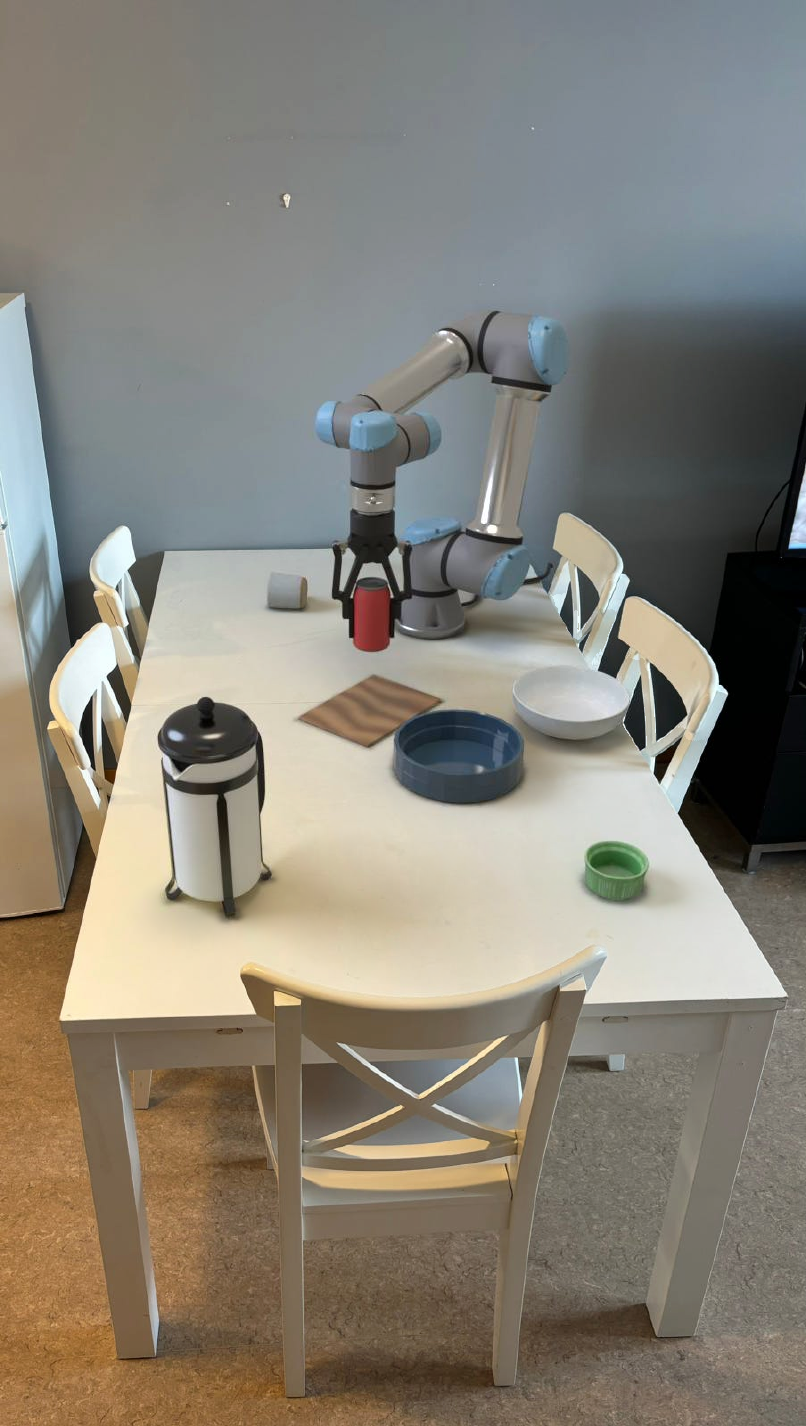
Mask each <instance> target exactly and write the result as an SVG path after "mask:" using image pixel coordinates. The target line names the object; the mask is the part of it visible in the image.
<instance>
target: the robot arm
mask: <svg viewBox="0 0 806 1426" xmlns="http://www.w3.org/2000/svg"><path fill="white" fill-rule="evenodd" d="M566 330H567V329H565V326H564V325H563V324H562V323H561V322H560V321H559V320H557V319H555V318H552V317H546V316H542V315H537V314H535V315H534V314H526V313H518V312H517V313H516V312H509V311H500V310H495V309H494V310H493V309H490V310H480V311H477V312H476V311H475V312H472V313H470V314H467V315H465V316H462V317H460V318H457V319H455V320H453V321H452V322H450V323H448V324H446V325H445V326H443V327H441V328H440V329H438V330H436V331H435V332H434V333H433V334H431V336H430V337H429V339H428V341H427V345H425V346H423V347H422V348H421V349H419V350H418V351H417V352H415V353H414V354H412V355H411V356H409V358H406V359H405V360H404V361H402V362H401V363H400V364H398V365H397V366H396V367H394V368H393V369H391V370H390V371H388V372H387V373H386V374H384V375H383V376H381V377H380V378H378V379H377V380H376V381H374V382H373V383H372V384H370V385H369V386H367V387H366V388H364V389H363V390H361V391H360V392H358V394H356V395H355V396H353V397H352V398H351V399H349V400H348V401H346V402H342V401H341V400H340V401H339V400H337V401H333V400H331V401H326V402H324V403H323V404H322V405H321V406H320V407H319V408H318V411H317V413H316V416H315V420H314V421H315V422H314V423H315V424H314V428H315V431H316V435H317V437H318V439H319V440H320V441H321V442H322V443H324V444H325V445H330V446H334V447H336V448H337V449H346V450H349V455H350V456H349V459H350V460H349V461H350V463H349V464H350V478H349V479H350V480H349V506H350V508H351V509H350V510H349V534H348V537H347V539H345V540H341V541H338V540H333V542H332V545H331V546H332V553H333V556H334V562H333V572H332V573H333V574H332V584H331V599H332V600H334V601H340V602H341V617H342V619H343V620H348V639H353V597H352V595H353V592H354V589H355V586H356V582H357V581H358V578H359V575H360V572H361V570H362V569H363V565H364V564H365V565H366V564H367V565H368V564H378V565H379V564H380V565H381V566H382V569H383V571H384V573H385V576H386V581H387V582H388V586H389V589H390V592H391V595H392V596H393V597H391V602H390V639H395V637H396V636H395V630H397V631H398V632H400V633H401V634H403V635H406V636H409V637H412V638H416V639H425V640H439V639H440V640H441V639H446V638H450V637H453V636H456V635H459V634H461V632H462V631H464V629H465V626H466V615H465V613H464V609H463V608H464V607H469V606H472V605H474V604H475V603H476V602H477V601H478V600H479V597H482V598H484V599H490V600H496V601H507V600H508V599H511V598H512V597H513V596H514V595H516V594H517V592H518V591H519V590H520V589H521V588H522V586H523V584H528V583H534V582H539V581H541V580H543V579H546V578H547V577H548V576H549V575H550V573H551V569H552V568H554V566H553V565H554V564H553V563H552V562H548V563H547V567H546V570H545V573H543V574H541V575H539V576H535V577H531V578H527V576H528V573H529V570H530V566H531V553H530V550H529V549H528V548H527V547H526V546H525V545H523V541H524V535H525V534H523V532H522V530H521V529H520V528H519V521H520V517H521V511H522V507H523V506H522V505H523V501H524V494H525V489H526V484H527V479H528V473H529V468H530V462H531V457H532V452H533V446H534V441H535V436H536V435H535V434H536V430H537V425H538V420H539V415H540V409H541V403H542V402H543V401H544V400H545V399H546V398H548V397H549V396H551V394H552V389H553V386H556V385H559V384H560V383H561V382H562V381H563V380H564V378H565V375H566V374H567V372H568V369H569V364H570V354H571V353H570V352H571V351H570V349H571V348H570V341H569V336H568V334H567V331H566ZM474 373H476V374H477V373H480V374H487V375H490V376H491V381H490V386H491V388H492V389H493V391H494V392H495V395H496V398H495V403H494V410H493V415H492V422H491V425H490V426H491V427H490V431H489V437H488V438H489V439H488V444H487V450H486V455H485V460H484V466H483V472H482V477H481V483H480V490H479V496H478V501H477V507H476V512H475V517H474V519H473V520H471V521H470V522H469V523H467V524H466V526H465V531H463V530H462V529H463V525H462V522H461V521H460V520H459V519H458V518H455V517H449V516H436V517H427V518H421V519H418V520H416V521H413V522H411V523H409V524H408V525H407V526H406V528H405V530H404V538H403V541H402V540H398V538H397V536H396V533H395V531H396V511H395V510H394V508H395V507H396V479H397V478H396V476H397V474H396V473H397V468H399V467H401V466H404V465H408V464H410V463H413V462H416V461H420V460H424V459H426V458H427V457H428V456H430V455H432V454H434V453H435V452H436V451H438V449H439V447H440V445H441V443H442V437H443V436H442V429H441V425H440V423H439V422H438V420H437V419H436V417H435V416H434V415H432V414H431V413H428V412H425V411H419V412H416V411H415V412H414V411H413V412H411V413H409V414H405V413H407V412H408V411H410V410H411V409H412V408H414V407H415V406H416V405H418V404H419V403H420V402H421V401H423V400H424V399H426V397H428V396H430V395H431V394H433V392H435V391H436V390H437V389H439V388H440V387H441V386H443V385H444V384H445V383H447V382H448V381H449V380H451V381H452V380H458V379H461V378H463V377H464V376H465V375H467V374H474ZM348 548H349V549H350V551H351V552H352V553H353V555H354V556H355V557H354V560H353V563H352V566H351V569H350V571H349V573H348V577H347V579H346V583H345V584H344V586H343V587H344V588H343V590H340V585H341V579H342V578H341V577H342V565H343V556H344V555H346V552H347V549H348ZM396 548H397V549H398V553H399V555H400V556H401V565H402V574H403V576H402V577H403V581H402V582H403V583H402V584H403V585H402V590H400V588H399V587H400V586H399V584H398V581H397V578H396V576H395V573H394V572H395V571H394V570H393V567H392V564H391V561H390V558H389V557H390V556H391V555H392V553H393V552H394V550H396ZM459 591H463V592H466V593H469V594H472V595H474V597H473V598H472V599H471V600H469V601H465V602H461V599H460V595H459Z"/></svg>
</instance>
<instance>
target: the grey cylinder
mask: <svg viewBox="0 0 806 1426" xmlns="http://www.w3.org/2000/svg"><path fill="white" fill-rule="evenodd" d="M266 590H267V591H266V602H267V603H266V604H267V606H268V608H275V609H276V608H277V609H292V610H293V609H295V610H297V609H303V608H304V607H305V606H306V603H307V600H308V599H307V598H308V580H307V578H306V577H304V576H301V575H296V574H287V573H280V572H271V573H270V574H269V576H268V580H267V588H266Z"/></svg>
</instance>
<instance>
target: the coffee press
mask: <svg viewBox="0 0 806 1426" xmlns="http://www.w3.org/2000/svg"><path fill="white" fill-rule="evenodd" d="M156 740H157V746H158V748H159V750H160V751H161V756H162V757H161V759H160V764H161V775H162V787H163V796H164V807H165V817H166V826H167V837H168V845H169V855H170V856H169V857H170V866H171V867H170V868H171V878H170V881H169V882H168V884H167V885H166V887H165V889H164V892H165V896H166V898H167V900H171V901H173V900H176V899H177V898H178V897H179V896H180V894H181V893H184V894H185V895H187V896H189V897H191V898H192V899H195V900H199V901H203V902H204V901H205V902H221V903H222V907H223V913H224V916H225V918H226V919H227V918H232V917H237V909H236V906H235V905H236V904H235V899H236V898H239V897H240V896H243V895H245V894H246V893H247V892H249V891H250V890H251V889H253V887H255V886H256V884H257V883H258V881H259V880H260V879H262V880H264V881H267V880H269V879H271V878H272V875H273V873H272V871H271V869H270V867H269V865H267V864H266V863H265V862H264V857H263V839H262V819H261V818H262V817H261V813H262V811H263V809H264V804H265V799H266V772H265V771H266V770H265V753H264V743H263V738H262V735H261V733H260V731H259V729H258V727H257V725H256V723H255V722H254V721H253V720H252V718H251V717H250V716H249V715H248V713H246V712H245V711H244V710H242V709H241V708H239V707H237V706H234V705H232V704H229V703H223V702H217V701H216V702H215V701H214V700H213V699H212V698H211V697H209V696H202V697H200V698H199V699H198V701H197V703H193V704H189V705H186V706H183V707H181V708H179V709H177V710H176V711H174V712H172V713H171V714H170V715H169V716H168V717H167V718H166V719H165V721H164V722H163V724H162V727H160V729H159V730H158V732H157V738H156ZM262 866H263V868H264V869H265V870H266V871H267V872H265V873H262ZM175 884H176V885H177V888H176V889H175V890H174V891H172V889H173V887H174V885H175ZM171 891H172V892H171Z"/></svg>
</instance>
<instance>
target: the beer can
mask: <svg viewBox="0 0 806 1426" xmlns="http://www.w3.org/2000/svg"><path fill="white" fill-rule="evenodd" d="M352 598H353V638H352V644H353V646H354V647H355V648H356V649H357V650H359V651H361V652H366V653H379V652H382V651H384V650H386V649H388V647H389V646H391V645H390V643H391V638H390V602H391V598H392V592H391V589H390V586H389V582H388V580H387V579H385V578H382V577H378V576H377V577H376V576H367V577H362V578H359V579H357V581H356V583H355V586H354V589H353V592H352Z"/></svg>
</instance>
